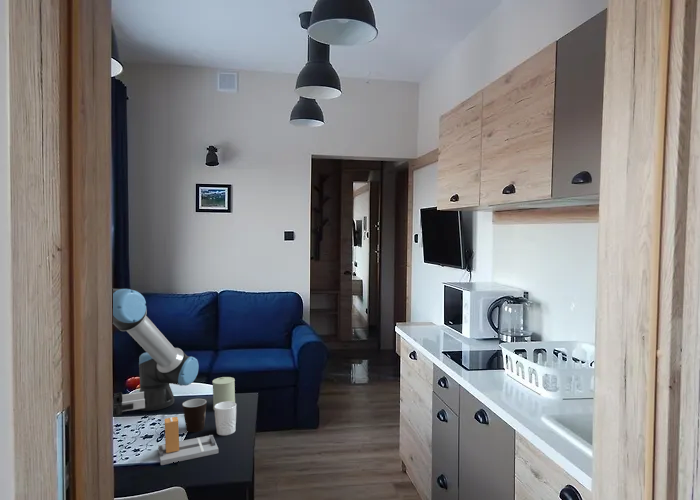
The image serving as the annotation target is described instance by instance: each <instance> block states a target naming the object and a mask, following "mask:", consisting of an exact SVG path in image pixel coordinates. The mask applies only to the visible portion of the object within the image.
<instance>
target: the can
mask: <svg viewBox="0 0 700 500" xmlns="http://www.w3.org/2000/svg"><path fill="white" fill-rule="evenodd" d="M211 381H212V401H213V402H212V404H213V405H212V410H213V411H215V409H214V406H215V405H216V404H218V403H220V402H227V401H230V402H235V403H236V393H235V392H236V390H235V387H236V386H235V385H236V384H235V381H236V380H235V378H234V377H231V376H222V377H217V378H214V379H213V380H211Z"/></svg>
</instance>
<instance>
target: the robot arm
mask: <svg viewBox="0 0 700 500" xmlns="http://www.w3.org/2000/svg"><path fill="white" fill-rule="evenodd" d="M112 289H113V323H112V324H113V325H114V326H115V328H117V329H118V330H119V331H121V332H127V334H129V336H130V337H132V339H134V341H135V342H137V344H138V345H139V346H140V347H142V349H143V350H144V351H145V352H143V353H141V354H140V355H139V358H138V359H139V360H138V361H139V362H138V368H139V369H138V373H139V391H138V392H132V393H126V394H123V393H122V391H119V392H116V393H113V394H114V411H113V416H121V415H123V412H127V411H129V412H130V411H135V410H139V411H143V412H144V411H145V412H149V411H150V412H151V411H159V410H163V409H166V408H169V407H170V406H172V405H174V403H175V396H174V393H173V390H172V388H171V386H170V385H177V386H189V385H191V384H192V383H193V382H194V381H195V380H196V379H197V376H198V374H199V361H198V359H197V358H196V357H194V356H188V355H187V354H186V353H185V352H184V351H183V350H182V349H181V348H179V347H174V346H173V344H172V343H171V342H170V341H169V340H168V339H167V337H165V335H164V334H163V333H162V332H161V331H160V330H159V328H157V326H156V325H155V323H153V321H152V320H151V319H150V318H149V317H148V316H147V311H148V310H147V305H146V304H147V302H146V299H145V296H144V295H143V294H141V293H140V292H139V291H138V290H134V289H130V288H112ZM113 416H112V417H113Z"/></svg>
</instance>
